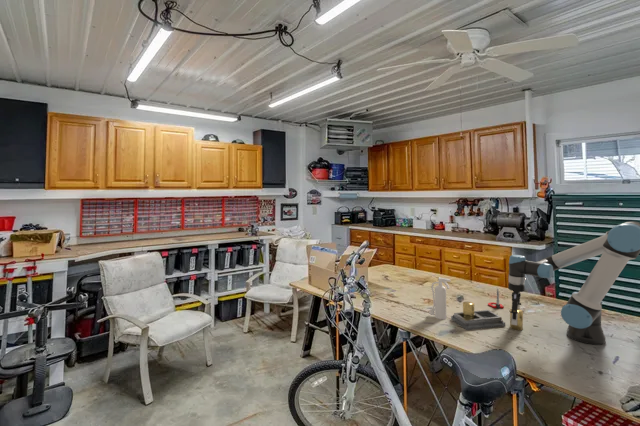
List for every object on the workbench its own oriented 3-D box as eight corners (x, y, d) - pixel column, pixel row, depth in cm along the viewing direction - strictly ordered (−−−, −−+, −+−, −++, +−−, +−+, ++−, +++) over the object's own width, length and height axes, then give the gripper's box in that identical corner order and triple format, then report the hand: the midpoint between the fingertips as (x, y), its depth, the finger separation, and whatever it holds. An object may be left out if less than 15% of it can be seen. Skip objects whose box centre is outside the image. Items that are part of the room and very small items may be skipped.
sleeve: (525, 329, 169) (525, 312, 168) (515, 330, 168) (515, 313, 167) (517, 325, 175) (517, 308, 174) (507, 326, 174) (507, 309, 173)
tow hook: (486, 303, 210) (491, 308, 201) (485, 285, 210) (491, 288, 201) (499, 304, 209) (505, 308, 199) (499, 285, 208) (505, 289, 199)
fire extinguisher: (429, 313, 196) (430, 275, 193) (449, 316, 190) (451, 277, 188) (427, 317, 190) (428, 278, 187) (448, 321, 184) (450, 280, 182)
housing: (505, 326, 174) (505, 305, 174) (466, 330, 171) (466, 309, 170) (487, 315, 189) (487, 296, 188) (451, 319, 186) (451, 299, 185)
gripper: (522, 290, 158) (521, 330, 159) (526, 278, 177) (525, 314, 179) (506, 288, 162) (504, 326, 164) (511, 276, 182) (510, 311, 184)
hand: (515, 320), depth 172 cm, fingers open, 13 cm apart
